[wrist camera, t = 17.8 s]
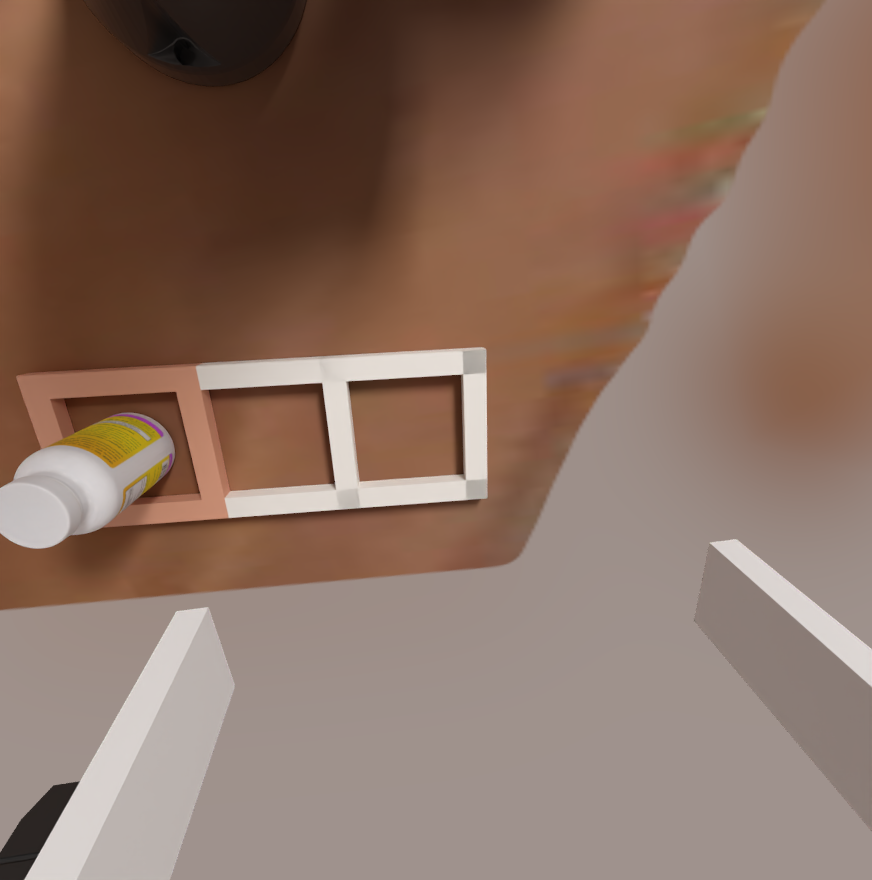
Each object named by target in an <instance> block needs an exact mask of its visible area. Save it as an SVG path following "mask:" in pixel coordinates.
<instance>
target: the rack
mask: <svg viewBox="0 0 872 880" xmlns="http://www.w3.org/2000/svg"><path fill="white" fill-rule="evenodd" d="M444 375H461V388H462V426H463V463H464V474H460V475H446V476H433V477H419V478H405V479H391V480H378V481H364V482H359V474H358V465H357V456H356V446H355V437H354V428H353V419H352V410H351V401H350V392H349V382H348V381H361V380H377V379H394V378H411V377H428V376H444ZM16 379H17V382H18V385H19V387H20V390H21V393H22V396H23V399H24V402H25V404H26V407H27V410H28V413H29V416H30V419H31V421H32V424H33V427H34V430H35V433H36V436H37V438H38V441H39V444H40V447H41V449H43V448H45V447H47V446H49V445H51V444H53V443H55V442H57V441H60V440H62V439H64V438H66V437H68V436H70V435H72V434H74V433H75V432H74V429H73V425H72V422H71V419H70V416H69V413H68V410H67V407H66V404H65V401H64V398H76V397H93V396H109V395H126V394H143V393H160V392H176V394H177V398H178V402H179V406H180V410H181V415H182V419H183V423H184V427H185V431H186V436H187V440H188V444H189V448H190V452H191V457H192V461H193V465H194V469H195V474H196V478H197V482H198V486H199V490H200V493H199V494H185V495H171V496H158V497H144V498H138V499H136V500H135V501H134V502H133V503H132V504H130V505H129V506H128V507H127V508H126V509H124V510H123V511H122V512H121V513H120V514H118V515H117V516H116V517H115V518H114V519H113V520H111V521H110V522H109V523H108V524H107V525H105V526H104V527H117V526H130V525H143V524H156V523H170V522H183V521H196V520H209V519H222V518H235V517H248V516H262V515H275V514H288V513H301V512H314V511H327V510H340V509H354V508H367V507H380V506H393V505H406V504H419V503H432V502H446V501H459V500H472V499H485V498H487V396H486V349H485V348H483V347H479V348H461V349H443V350H425V351H408V352H390V353H372V354H354V355H336V356H319V357H301V358H283V359H265V360H248V361H230V362H212V363H194V364H177V365H159V366H141V367H123V368H106V369H88V370H70V371H52V372H35V373H27V374H23V375H19V376H16ZM310 383H322V384H323V392H324V400H325V408H326V415H327V423H328V431H329V439H330V447H331V454H332V462H333V470H334V478H335V484H323V485H309V486H295V487H281V488H268V489H254V490H240V491H230V488H229V483H228V478H227V474H226V469H225V464H224V459H223V455H222V450H221V445H220V441H219V436H218V431H217V427H216V422H215V417H214V413H213V408H212V403H211V399H210V394H209V390H210V389H227V388H243V387H260V386H277V385H294V384H310ZM104 527H102V528H104Z"/></svg>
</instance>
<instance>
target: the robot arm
mask: <svg viewBox="0 0 872 880" xmlns="http://www.w3.org/2000/svg"><path fill="white" fill-rule="evenodd" d="M83 1H84V2H85V3H86V5H87V6H88V7H89V9H90V10H91V11H92V12H93V14H94V15H95V16H96V17H97V19H98V20H99V21H100V22H101V23H102V24H103V25H104V26H105V27H106V29H107V30H108V31H109V32H110V33H111V34H113V35H114V36H115V37H116V38H117V39H118V40H119V41H120V42H121V43H122V44H124V45H125V46H126V47H127V48H128V49H129V50H131V51H132V52H133V53H134V54H135V55H136V56H138V57H139V58H140V59H141V60H143V61H144V62H146V63H147V64H148V65H150V66H152V67H153V68H155V69H156V70H158V71H160V72H162V73H164V74H166V75H168V76H170V77H172V78H175V79H178V80H180V81H184V82H187V83H191V84H196V85H203V86H223V85H230V84H234V83H238V82H241V81H244V80H247V79H249V78H251V77H253V76H255V75H257V74H259V73H260V72H262V71H263V70H265V69H266V68H267V67H268V66H270V65H271V64H272V63H273V62H274V61H275V60H276V59H277V58H278V57H279V56H280V55H281V54H282V52H283V51H284V50H285V48H286V47H287V46H288V44H289V42H290V41H291V39H292V37H293V36H294V34H295V32H296V30H297V27H298V25H299V22H300V20H301V17H302V14H303V11H304V7H305V3H306V0H83ZM694 621H695V623H696V624H697V625H698V626H699V627H700V629H701V630H702V631H703V632H704V633H705V635H707V637H708V638H709V639H710V640H711V642H712V643H713V644H714V645H715V646H716V648H717V649H718V650H719V651H720V652H721V653H722V655H723V656H724V657H725V658H726V659H727V661H728V662H729V663H730V664H731V665H732V666H733V668H734V669H735V670H736V671H737V672H738V674H739V675H740V676H741V677H742V678H743V679H744V681H745V682H746V683H747V684H748V685H749V687H750V688H751V689H752V690H753V691H754V693H755V694H756V695H757V696H758V697H759V698H760V700H761V701H762V702H763V703H764V704H765V706H766V707H767V708H768V709H769V710H770V711H771V713H772V714H773V715H774V716H775V717H776V719H777V720H778V721H779V722H780V723H781V725H782V726H783V727H784V728H785V729H786V730H787V732H788V733H789V734H790V735H791V736H792V737H793V739H794V740H795V741H796V742H797V743H798V744H799V746H800V747H801V748H802V749H803V751H804V752H805V753H806V754H807V755H808V756H809V758H810V759H811V760H812V761H813V762H814V763H815V765H816V766H817V767H818V768H819V770H820V771H821V772H822V773H823V774H824V775H825V776H826V778H827V779H828V780H829V781H830V782H831V784H832V785H833V786H834V787H835V788H836V790H837V791H838V792H839V793H840V794H841V795H842V797H843V798H844V799H845V800H846V801H847V803H848V804H849V805H850V806H851V807H852V809H853V810H854V811H855V812H856V813H857V814H858V816H859V817H860V818H861V819H862V820H863V822H864V823H865V824H866V825H867V826H868V827H869V829H870V830H871V831H872V649H871V648H869V647H868V646H867V645H866V644H865V643H863V642H862V641H861V640H860V639H858V638H857V637H856V636H855V635H853V634H852V633H851V632H850V631H848V630H847V629H846V628H845V627H844V626H842V625H841V624H840V623H839V622H837V621H836V620H835V619H834V618H833V617H831V616H830V615H829V614H827V613H826V612H825V611H824V610H823V609H821V608H820V607H819V606H818V605H817V604H815V603H814V602H813V601H812V600H810V599H809V598H808V597H807V596H805V595H804V594H803V593H802V592H800V591H799V590H798V589H797V588H796V587H794V586H793V585H792V584H791V583H789V582H788V581H787V580H786V579H785V578H783V577H782V576H781V575H780V574H778V573H777V572H776V571H775V570H774V569H772V568H771V567H770V566H769V565H767V564H766V563H765V562H764V561H762V560H761V559H760V558H759V557H758V556H756V555H755V554H754V553H753V552H751V551H750V550H749V549H748V548H746V547H745V546H744V545H743V544H741V543H740V542H739V541H738V540H737V539H734V540H727V541H719V542H711V543H709V548H708V554H707V558H706V563H705V568H704V573H703V578H702V583H701V588H700V593H699V598H698V603H697V608H696V613H695V618H694ZM234 687H235V684H234V681H233V678H232V675H231V672H230V670H229V667H228V664H227V661H226V658H225V655H224V652H223V649H222V646H221V643H220V640H219V637H218V634H217V631H216V628H215V625H214V622H213V619H212V616H211V613H210V610H209V608H208V607H206V608H199V609H191V610H183V611H176V613H175V615H174V617H173V618H172V620H171V622H170V624H169V625H168V627H167V629H166V631H165V633H164V634H163V636H162V638H161V640H160V642H159V643H158V645H157V647H156V648H155V650H154V652H153V654H152V656H151V657H150V659H149V661H148V662H147V664H146V666H145V668H144V670H143V671H142V673H141V675H140V677H139V678H138V680H137V682H136V684H135V686H134V687H133V689H132V691H131V692H130V694H129V696H128V698H127V700H126V701H125V703H124V705H123V707H122V708H121V710H120V712H119V714H118V715H117V717H116V719H115V721H114V723H113V724H112V726H111V728H110V730H109V731H108V733H107V735H106V737H105V738H104V740H103V742H102V744H101V746H100V747H99V749H98V751H97V752H96V754H95V756H94V758H93V760H92V761H91V763H90V765H89V767H88V768H87V770H86V772H85V774H84V776H83V777H82V779H81V781H80V782H73V783H67V784H60V785H54V786H53V787H52V788H51V789H50V790H49V791H48V792H47V793H46V794H45V795H44V796H43V797H42V798H41V799H40V800H39V801H38V802H37V803H36V805H35V806H34V807H33V808H32V809H31V810H30V811H29V812H28V813H27V814H26V815H25V816H24V817H23V818H22V819H21V821H20V822H19V824H18V825H17V827H16V829H15V830H14V832H13V833H12V835H11V837H10V838H9V840H8V842H7V843H6V845H5V846H4V848H3V849H2V851H1V852H0V880H170V879H171V876H172V873H173V870H174V867H175V864H176V861H177V858H178V855H179V852H180V849H181V846H182V842H183V840H184V837H185V834H186V831H187V828H188V825H189V822H190V819H191V816H192V813H193V810H194V807H195V804H196V801H197V798H198V795H199V792H200V789H201V786H202V783H203V780H204V777H205V774H206V771H207V768H208V765H209V762H210V759H211V756H212V753H213V750H214V747H215V744H216V741H217V738H218V735H219V732H220V729H221V726H222V723H223V720H224V717H225V715H226V711H227V708H228V705H229V703H230V700H231V696H232V694H233V691H234Z"/></svg>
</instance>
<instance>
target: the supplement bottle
mask: <svg viewBox="0 0 872 880" xmlns="http://www.w3.org/2000/svg"><path fill="white" fill-rule="evenodd" d="M174 458H175V448H174V444H173V441H172V439H171V437H170V435H169V433H168V432H167V431H166V429H165V428H164V427H163V426H162V425H161V424H159V423H158V422H157V421H155V420H154V419H152V418H150V417H148V416H145V415H142V414H138V413H120V414H115V415H112V416H110V417H108V418H105V419H103V420H101V421H99V422H97V423H95V424H93V425H91V426H89V427H86V428H84V429H82V430H80V431H78V432H76V433H74V434H72V435H70V436H68V437H66V438H64V439H62V440H60V441H57V442H55V443H53V444H51V445H49V446H47V447H45V448H43V449H41V450H39V451H37V452H35V453H33V454H32V455H30V456H29V457H27V458H26V459H25V460H24V461H23V462H22V463H21V464H20V466H19V467H18V469H17V471H16V473H15V476H14V480H13V481H12V482H10V483H8V484H6V485H5V486H3V487H1V488H0V533H1V534H2V535H3V536H4V537H6V538H7V539H9V540H10V541H12V542H14V543H16V544H18V545H21V546H24V547H28V548H35V549H41V548H48V547H52V546H54V545H57V544H58V543H60V542H61V541H63V540H64V539H66V538H67V537H69V536H70V535H79V534H86V533H90V532H93V531H96V530H98V529H100V528H102V527H104V526H105V525H107V524H108V523H109V522H110V521H111V520H113V519H114V518H115V517H116V516H117V515H118V514H120V513H121V512H122V511H123V510H124V509H126V508H127V507H128V506H129V505H130V504H132V503H133V502H134V501H135V500H136V499H138V498H139V497H140V496H141V495H142V494H144V493H145V492H146V491H147V490H148V489H150V488H151V487H152V486H153V485H154V484H156V483H157V482H158V481H159V480H160V479H161V478H162V477H163V476H165V475H166V474H167V472H168V471H169V470H170V468H171V467H172V465H173V462H174Z"/></svg>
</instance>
